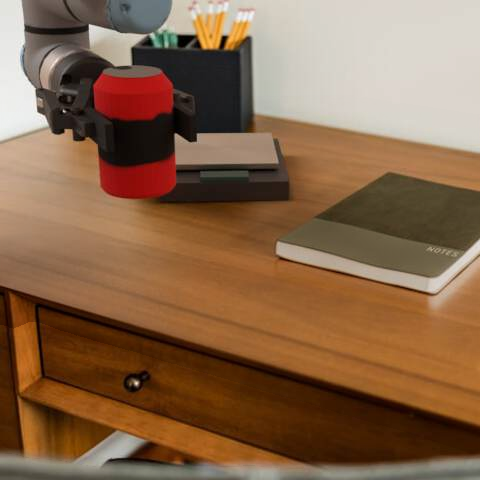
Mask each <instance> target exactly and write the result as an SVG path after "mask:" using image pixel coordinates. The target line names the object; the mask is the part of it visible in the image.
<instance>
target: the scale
mask: <svg viewBox="0 0 480 480" xmlns="http://www.w3.org/2000/svg"><path fill="white" fill-rule="evenodd" d="M279 141H280V140H279V139H278V138H273V142H274V146H275V150H276V154H277V158H278V162H279V169H216V170H176V185H175V187H174V188H173V189H172V190H171V191H170V192H169V193H167V194H164V195H162V196H159V203H195V202H200V203H201V202H247V201H248V202H249V201H250V202H251V201H252V202H253V201H254V202H255V201H289V200H290V180H289V175H288V172H287V168H286V167H287V166H286V164H285V161H284V156H283V153H282V148H281V144H280V142H279Z"/></svg>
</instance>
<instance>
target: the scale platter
mask: <svg viewBox="0 0 480 480" xmlns="http://www.w3.org/2000/svg"><path fill="white" fill-rule="evenodd" d="M273 139H274V138H273V134H272V132H220V133H219V132H215V133H214V132H213V133H211V132H210V133H208V132H207V133H203V132H202V133H198V132H197V142H191V143H190V142H188V141H187V140H185V139H184V138H182V137H181V136H179V135H178V134H176V133H175V161H176V170H216V169H279V162H278V158H277V154H276V150H275V146H274V142H273Z"/></svg>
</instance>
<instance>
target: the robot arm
mask: <svg viewBox="0 0 480 480" xmlns="http://www.w3.org/2000/svg"><path fill="white" fill-rule="evenodd" d="M20 2H21V8H22V15H23V26H24V27H23V28H24V29H23V33H24V34H23V35H24V44H23V45H22V47H21V49H20V55H19V63H20V67H21V70H22V72H23V74H24V76H25V77H26V78H27V81H28V82H29V83H30V84H31V86H33V88H35V89H34V93H35V103H36V112H37V113H38V114H40V115H42V116H44V117H45V119H46V121H47V125H48V126H49V129H50V131H51V133H52V134H53V135H56V136H60V135H64V134H65V133H66V130H71V133H72V141H73V142H84V141H86V138H89V139H90V140H91V141H92V142H93V143H95V144H96V145H97V147H98V146H100V147H101V148H102V149H103V150H104V151H105V152H107V153H108V152H115V149H114V133H113V123H111V122H110V121H109V120H107V119H106V118H105V117H103V116H102V115H101V114H100V113H98V112H97V111H96V110H95V101H94V87H93V85H94V84H95V83H96V81H97V80H98V78H99V77H100V76H101V74H102V73H103V70H105V69H107V68H111V67H116V65H114V64H113V63H112V62H111V61H109V60H107V59H105V58H104V57H102V56H101V55H100V54H99V53H96V52H94V51H93V50H92V49H91V42H90V41H91V40H90V26H95V27H99V28H102V29H107V30H110V31H115V32H117V33H119V34H133V35H141V36H143V35H145V36H146V35H151V34H153V33H155V32H157V31H158V30H159V29H161V28H162V26H164V25H165V23H166V22H167V20H168V18H169V17H170V15H171V11H172V8H173V0H21V1H20ZM173 106H174V133H175V134H178V135H179V136H181V137H182V138H184V139H185V140H187V141H188V142H190V143H191V142H197V133H198V128H197V127H198V124H197V123H198V122H197V114H195V113H196V111H195V96H194V95H191V94H188V93H186V92H183V91H180V90H178V89H176V88H173Z"/></svg>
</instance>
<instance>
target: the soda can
mask: <svg viewBox="0 0 480 480" xmlns="http://www.w3.org/2000/svg"><path fill="white" fill-rule="evenodd" d="M93 87H94V101H95V110H96V111H97V112H98V113H100V114H101V115H102V116H103V117H105V118H106V119H107V120H109V121H110V122H111V123H113V133H114V149H115V152H108V153H107V152H105V151H104V150H103V149H102V148H101V147H100V146H98V145H97V155H98V169H99V184H100V188H101V189H102V190H103V192H104V193H105V194H107V195H108V196H111V197H115V198H118V199H125V200H145V199H153V198H159V197H160V196H162V195H164V194H167V193H169V192H170V191H171V190H172V189H173V188H174V187H175V185H176V161H175V134H176V133H175V132H174V106H173V89H174V85H173V83H172V81H171V80H170V79H169V78H168V77H167V76H166V75H165V73H164V72H163V70H162V69H161V68H158V67H154V66H148V65H136V64H135V65H133V64H131V65H118V66H117V65H115V67H111V68H107V69H105V70H103V73H102V74H101V76H100V77H99V78H98V80H97V81H96V83H95V84H94V85H93Z"/></svg>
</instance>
